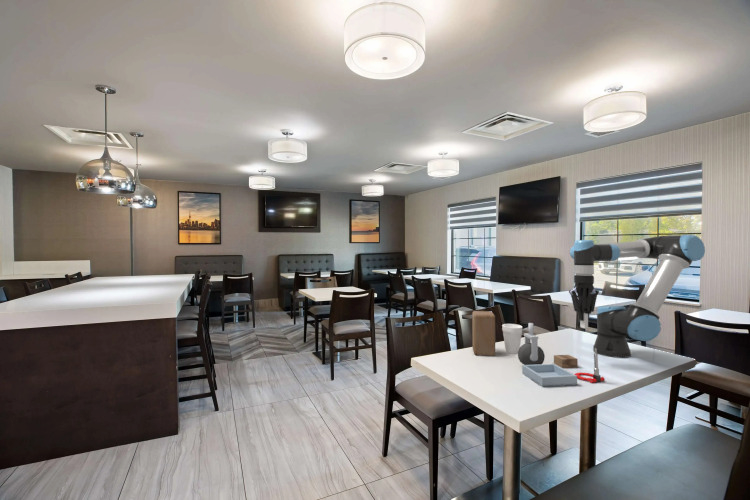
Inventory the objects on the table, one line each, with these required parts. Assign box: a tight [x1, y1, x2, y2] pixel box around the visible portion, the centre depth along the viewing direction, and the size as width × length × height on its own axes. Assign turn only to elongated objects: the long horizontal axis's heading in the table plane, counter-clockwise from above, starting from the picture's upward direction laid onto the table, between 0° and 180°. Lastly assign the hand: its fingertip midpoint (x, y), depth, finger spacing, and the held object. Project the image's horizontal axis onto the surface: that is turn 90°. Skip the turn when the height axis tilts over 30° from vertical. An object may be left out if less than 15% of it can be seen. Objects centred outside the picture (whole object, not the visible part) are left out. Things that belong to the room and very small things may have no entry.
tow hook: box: [574, 348, 606, 384], centre depth 137 cm, size 8×13×9 cm
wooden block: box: [471, 310, 496, 357], centre depth 171 cm, size 10×10×20 cm
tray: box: [521, 363, 578, 388], centre depth 136 cm, size 14×14×4 cm
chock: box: [553, 354, 579, 369], centre depth 152 cm, size 7×6×4 cm
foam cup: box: [501, 323, 523, 355], centre depth 172 cm, size 10×9×13 cm
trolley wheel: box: [517, 322, 546, 365], centre depth 150 cm, size 10×6×19 cm, turn 96°
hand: (584, 327), depth 152 cm, fingers closed
